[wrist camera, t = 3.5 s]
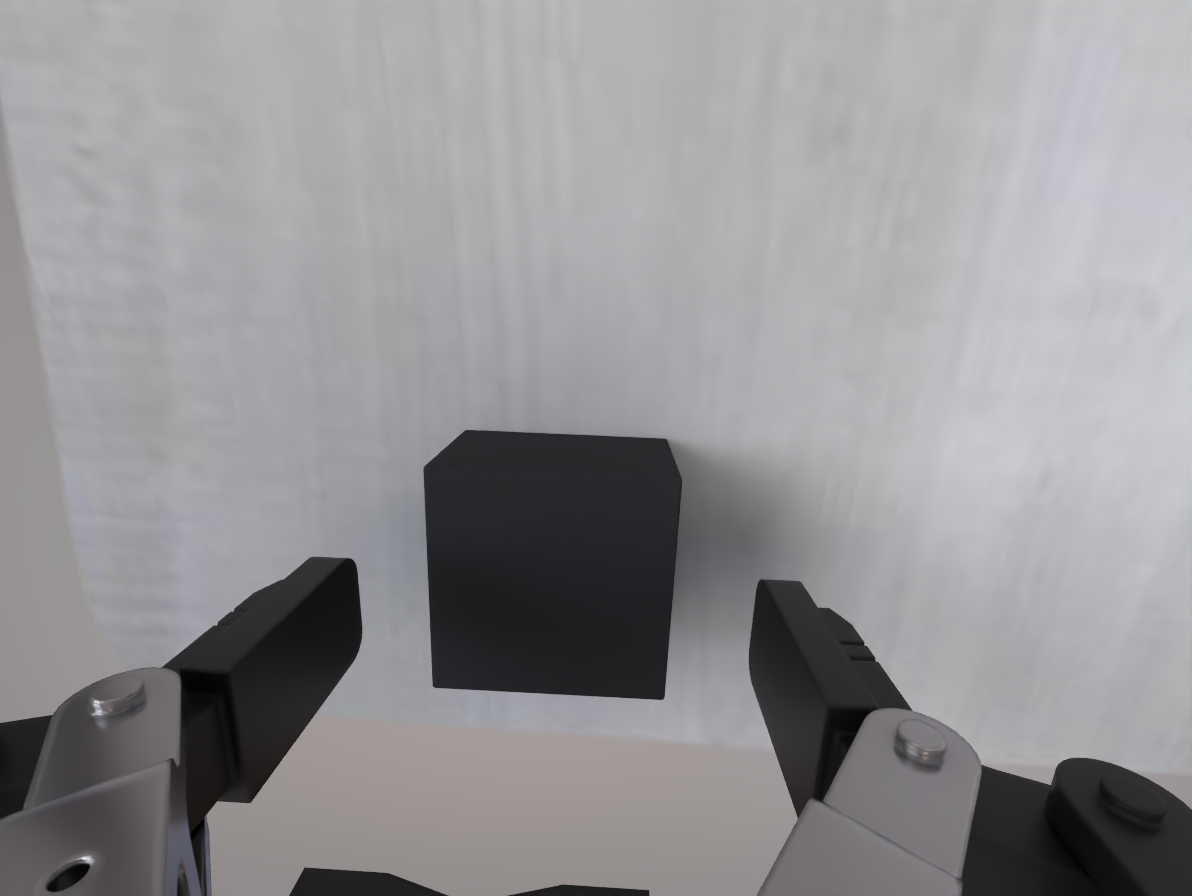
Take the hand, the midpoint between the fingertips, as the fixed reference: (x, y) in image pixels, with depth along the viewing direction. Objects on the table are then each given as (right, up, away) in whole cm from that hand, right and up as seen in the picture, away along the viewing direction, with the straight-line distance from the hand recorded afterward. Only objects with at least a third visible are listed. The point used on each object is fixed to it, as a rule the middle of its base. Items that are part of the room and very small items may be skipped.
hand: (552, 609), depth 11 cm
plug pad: (0, +1, +5) cm, 5 cm away
